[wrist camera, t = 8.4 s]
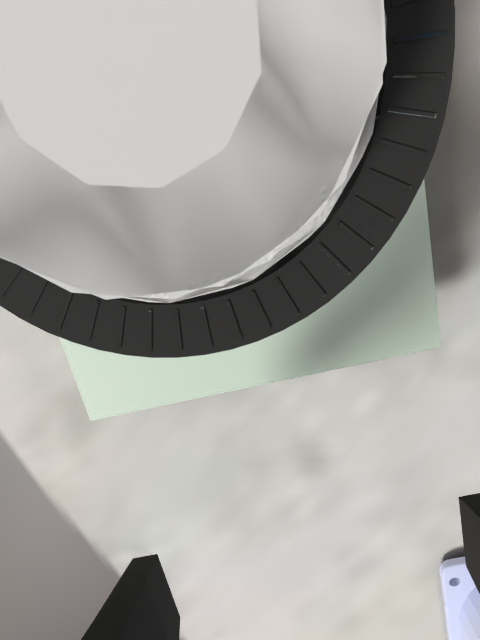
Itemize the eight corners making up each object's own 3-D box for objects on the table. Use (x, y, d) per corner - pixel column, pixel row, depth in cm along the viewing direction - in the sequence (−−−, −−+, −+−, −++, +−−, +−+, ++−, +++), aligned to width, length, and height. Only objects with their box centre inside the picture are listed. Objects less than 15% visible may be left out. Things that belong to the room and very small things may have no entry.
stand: (407, 319, 17) (440, 347, 14) (114, 382, 18) (90, 420, 15) (363, -39, 14) (396, -98, 11) (2, 59, 14) (-57, 28, 12)
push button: (343, 247, 13) (613, 408, 4) (183, 309, 14) (58, 590, 4) (265, 9, 11) (401, -889, 2) (84, 93, 12) (-522, -262, 2)
